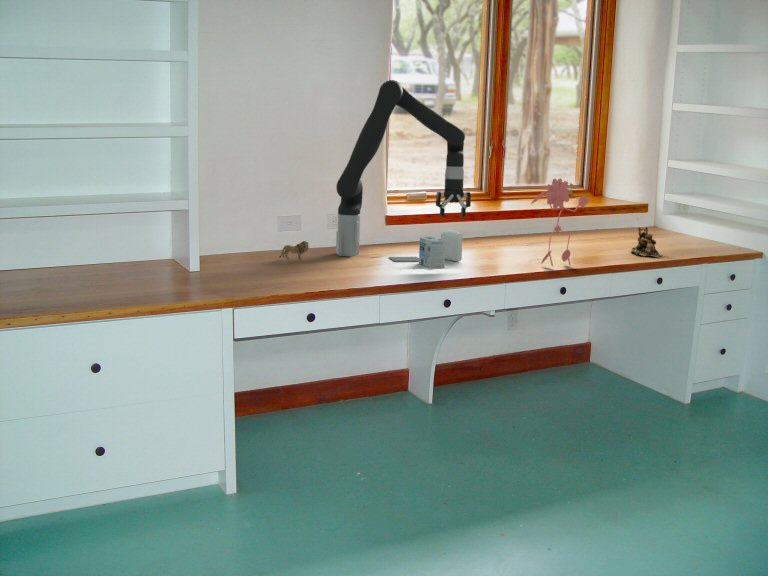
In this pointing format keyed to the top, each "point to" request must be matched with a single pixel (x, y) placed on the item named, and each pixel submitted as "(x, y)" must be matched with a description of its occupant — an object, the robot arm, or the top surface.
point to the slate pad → (404, 259)
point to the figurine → (557, 197)
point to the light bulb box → (432, 252)
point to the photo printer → (452, 245)
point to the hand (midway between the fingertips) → (452, 217)
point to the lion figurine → (295, 249)
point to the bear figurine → (645, 244)
